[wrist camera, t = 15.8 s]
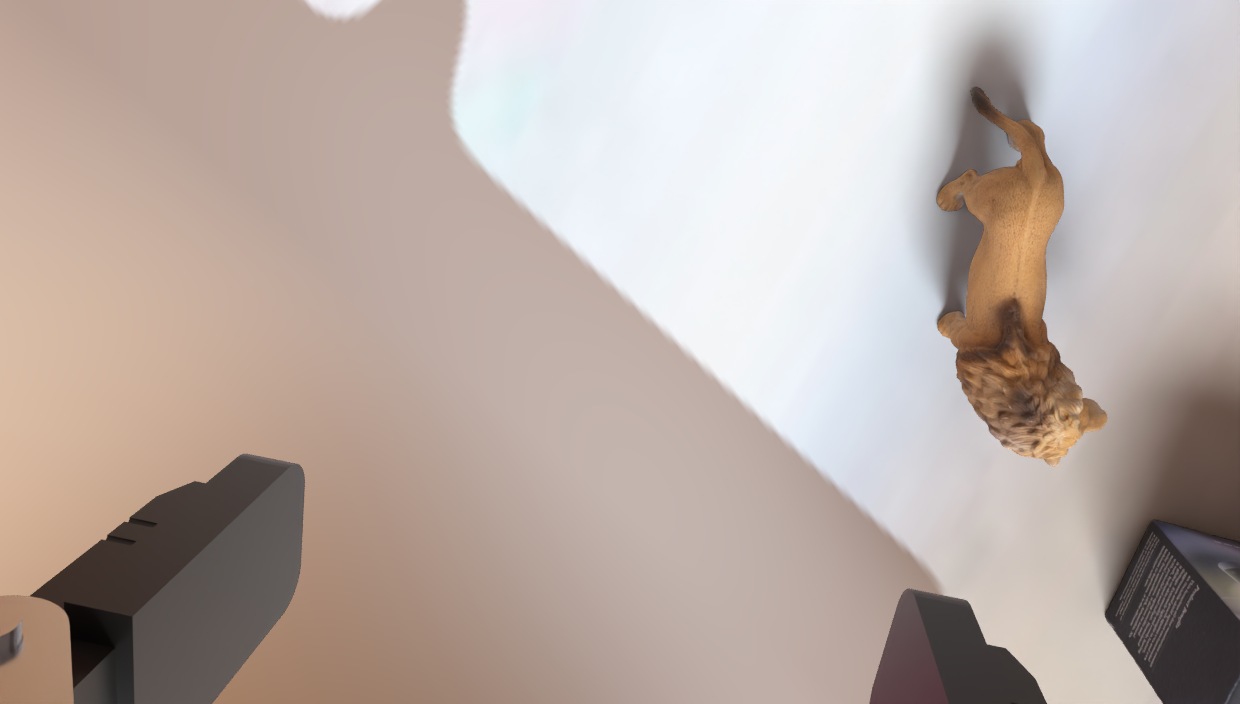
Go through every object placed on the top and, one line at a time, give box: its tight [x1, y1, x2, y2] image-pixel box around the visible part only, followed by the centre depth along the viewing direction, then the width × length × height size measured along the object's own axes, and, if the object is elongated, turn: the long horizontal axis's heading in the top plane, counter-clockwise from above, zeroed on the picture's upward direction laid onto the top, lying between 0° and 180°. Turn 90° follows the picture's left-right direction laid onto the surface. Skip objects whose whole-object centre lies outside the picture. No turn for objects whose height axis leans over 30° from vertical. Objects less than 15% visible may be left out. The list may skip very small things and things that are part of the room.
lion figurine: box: [937, 87, 1107, 467], centre depth 38 cm, size 15×5×9 cm, turn 13°
